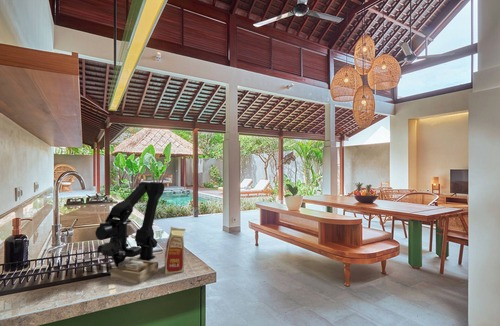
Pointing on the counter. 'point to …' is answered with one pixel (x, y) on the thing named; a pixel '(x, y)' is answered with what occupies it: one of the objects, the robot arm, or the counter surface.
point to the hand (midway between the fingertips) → (118, 268)
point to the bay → (135, 273)
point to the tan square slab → (132, 266)
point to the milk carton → (175, 251)
